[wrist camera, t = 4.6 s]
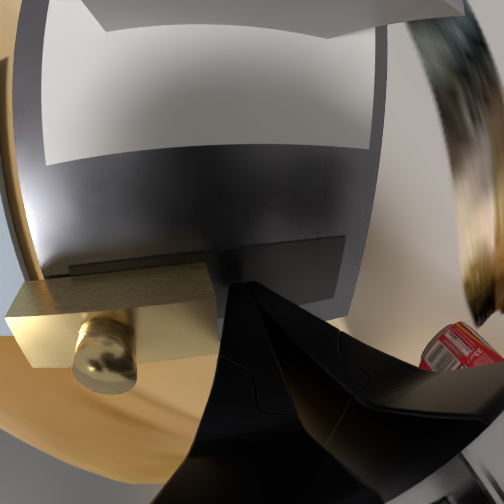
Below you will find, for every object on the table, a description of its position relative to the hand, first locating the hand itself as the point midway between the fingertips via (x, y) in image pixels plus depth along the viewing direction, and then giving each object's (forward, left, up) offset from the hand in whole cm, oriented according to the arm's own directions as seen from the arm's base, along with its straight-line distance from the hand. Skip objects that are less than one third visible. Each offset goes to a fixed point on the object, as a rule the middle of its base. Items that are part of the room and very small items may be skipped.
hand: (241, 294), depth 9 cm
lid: (+8, +1, -1) cm, 9 cm away
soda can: (-14, -21, -4) cm, 26 cm away
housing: (+5, +1, -4) cm, 7 cm away
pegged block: (0, +4, -1) cm, 4 cm away
